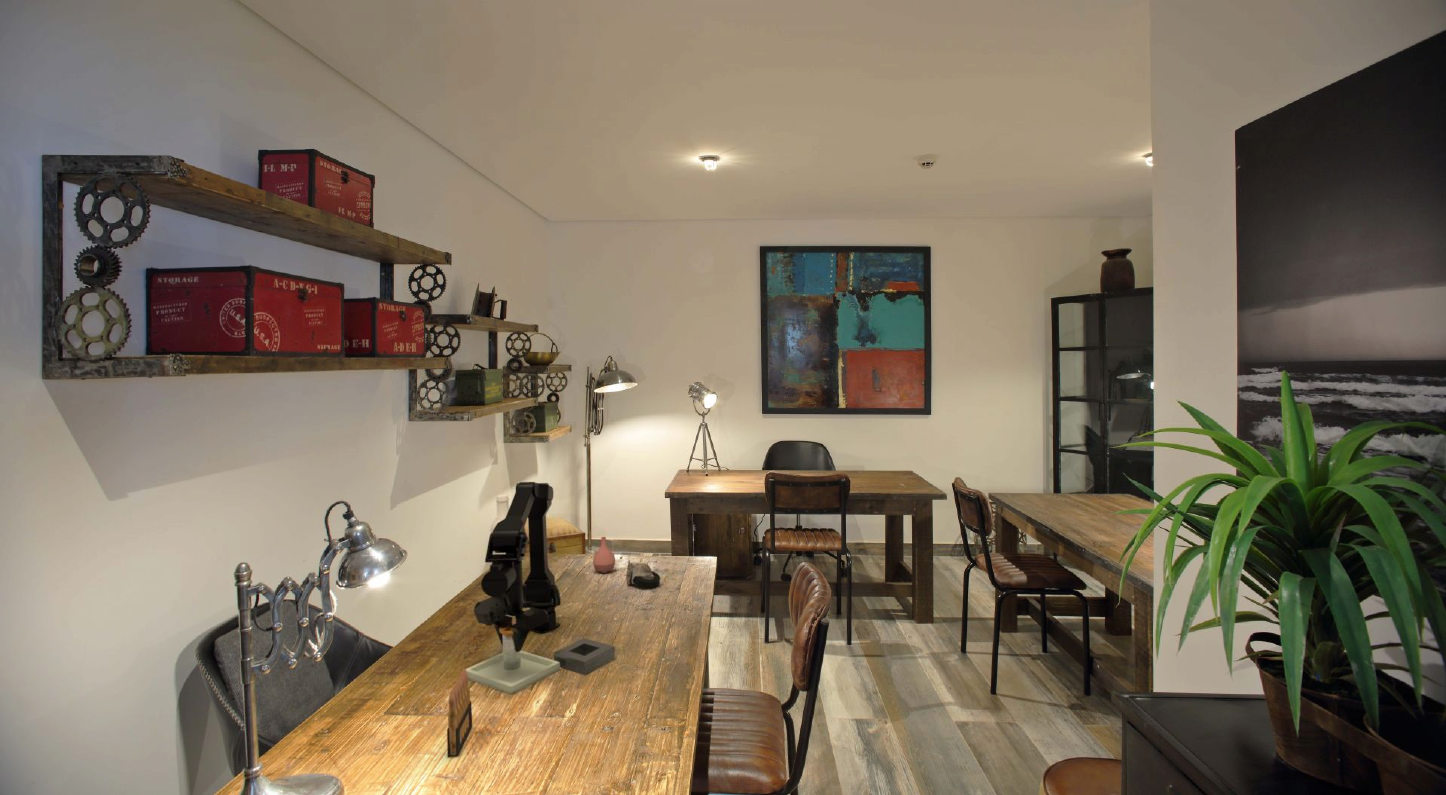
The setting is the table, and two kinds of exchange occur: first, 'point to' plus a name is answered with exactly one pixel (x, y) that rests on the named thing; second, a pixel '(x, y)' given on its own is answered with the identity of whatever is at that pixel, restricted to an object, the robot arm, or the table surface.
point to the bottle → (501, 511)
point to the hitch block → (584, 656)
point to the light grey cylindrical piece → (509, 648)
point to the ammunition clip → (459, 715)
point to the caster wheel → (642, 576)
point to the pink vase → (604, 558)
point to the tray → (512, 672)
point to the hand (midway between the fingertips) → (511, 649)
